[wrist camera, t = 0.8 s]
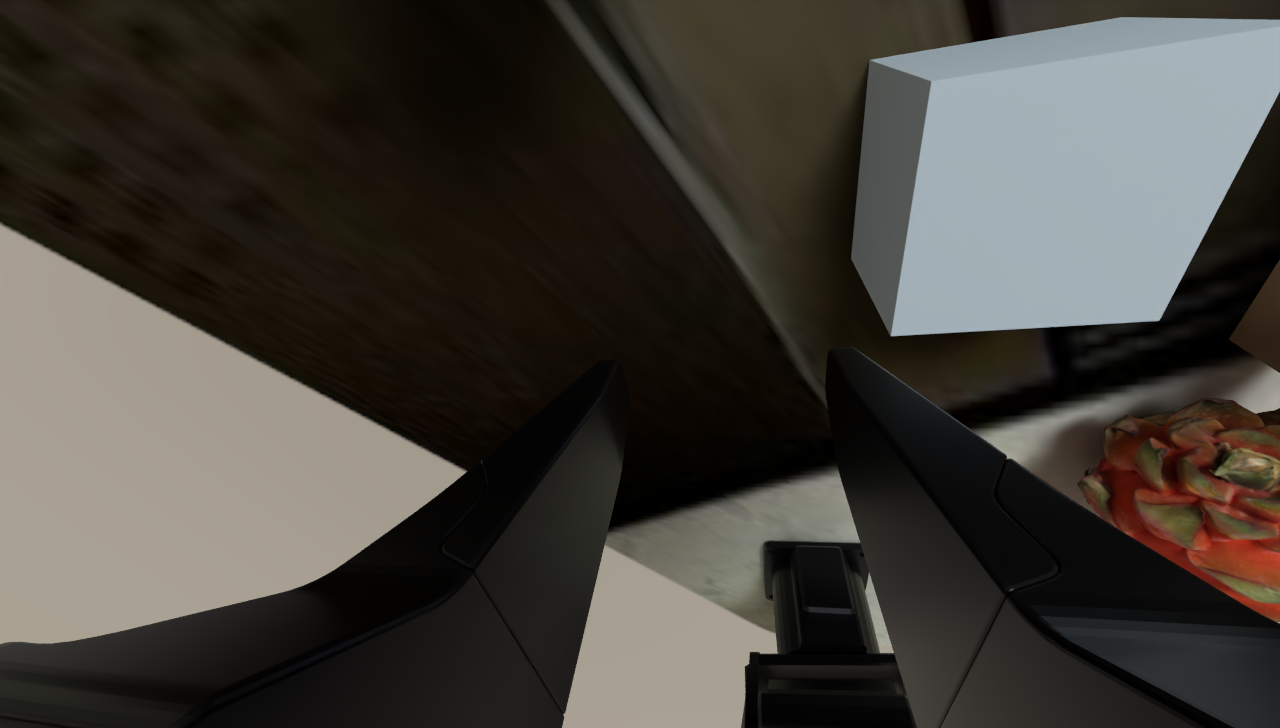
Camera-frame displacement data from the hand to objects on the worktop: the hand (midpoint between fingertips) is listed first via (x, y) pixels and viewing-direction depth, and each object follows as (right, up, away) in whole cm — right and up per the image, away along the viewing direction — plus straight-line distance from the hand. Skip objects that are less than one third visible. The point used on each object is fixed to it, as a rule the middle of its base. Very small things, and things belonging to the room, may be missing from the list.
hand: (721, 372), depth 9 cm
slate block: (+10, +8, +8) cm, 15 cm away
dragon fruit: (+24, -4, +14) cm, 28 cm away
